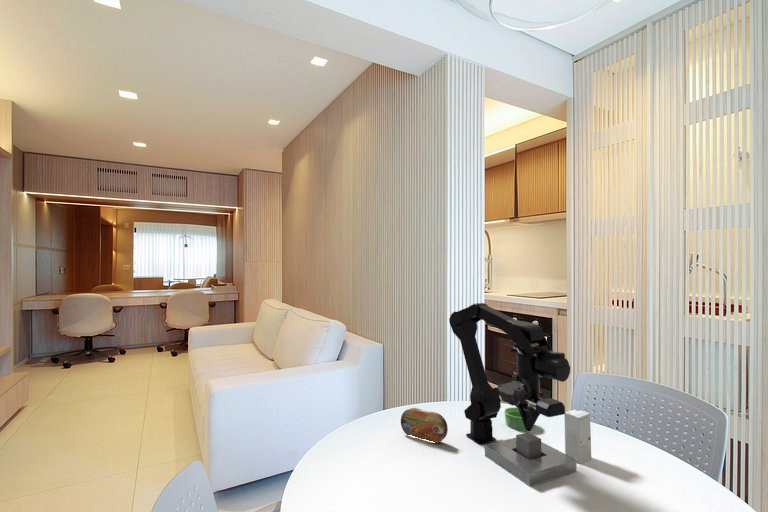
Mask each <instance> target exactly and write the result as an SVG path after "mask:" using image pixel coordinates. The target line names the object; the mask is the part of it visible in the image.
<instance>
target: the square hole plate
mask: <svg viewBox="0 0 768 512" xmlns="http://www.w3.org/2000/svg"><path fill="white" fill-rule="evenodd" d="M484 457H486V458H487V459H489V460H490V461H492V462H493V463H494V464H496V465H498V466H500V468H502V469H504V470H505V471H506V472H507V473H508V474H511V475H512V476H514V477H515V478H516V479H518V480H520V481H521V482H522V483H524V484H525V485H526V486H528V487H533V486H536V485H540V484H542V483H546V482H548V481H553V480H555V479H559V478H562V477H565V476H567V475H568V476H569V475H572V474H575V473H577V472H578V471H577V462H576V460H575V459H573V458H572V457H570V456H568V455H566V454H565V452H564V453H563V452H562V451H560V450H558V449H557V448H554V447H553V446H551V445H548V444H547V443H545V442H543V441H541V457H539V458H535V459H531V460H528V459H526V458H525V457H523V456H521V455H520V454H518V453H517V452H516V437H513V438H508V439H504V440H499V441H494V442H489V443H485V444H484Z"/></svg>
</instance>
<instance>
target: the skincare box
mask: <svg viewBox="0 0 768 512" xmlns="http://www.w3.org/2000/svg"><path fill="white" fill-rule="evenodd" d="M563 415H564V454H566V455H568V456H570V457H572V458H573V459H575V460H576V464H581V463H585V462H587V461H589V460H591V459H592V437H591V436H592V434H591V413H590V412H587V411H584V410H579V409H577V408H576V409H572V410H568V411H565V414H563Z"/></svg>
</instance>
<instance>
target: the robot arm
mask: <svg viewBox="0 0 768 512" xmlns="http://www.w3.org/2000/svg"><path fill="white" fill-rule="evenodd" d="M448 321H449V322H448V323H449V325H450V327H451V330H452V332H453V334H454V336H455V337H457V338H458V339H459V341H460V344H461V345H460V346H461V350H462V353H463V355H464V360H465V363H466V364H465V365H466V367H467V368H466V369H467V371H468V375H469V379H470V383H471V386H472V387H471V389H470V395H469V398H470V399H469V400H470V404H469V405H468V406H467V407H466V409H464V410H463V411H464V417H465V418H466V419H467V420H469V421H470V425H469V426H470V432H469V433H468V432H467V433H466V434H465V435H466V436H465V437H467V438H469V439H470V440H472V441H473V442H475V443H477V444H478V445H483V444H489V443H493V442H497V437H496V438H495V437H494V436H493V420H492V419H494V418H497V416H498V413H499V412H500V410H501V408H502V406H501V402H503V403H506V404H509V406H515V408H518V410H519V412H520V415H521V417H522V420H523V423H524V426H525V429H526V430H525V431H526V432H529V433H530V432H531V431H532V429H533V428H534V425H535V423H536V422H537V420H538V418H539V416H540V415H542V416H544V417H547V418H553V417H557V416H562V415H564V414H565V413H566V406H565V404H564V403H563V401H559V400H557V399H555V398H552V397H548V398H543V399H542V398H541V397H544V392H543V391H541V382H542V381H544V378H548V379H551V380H555V381H559V382H563V383H564V382H566V381H567V380H568V379H569V376H570V374H571V365H570V363H569V361H568V359H567V358H566V355H565V353H564V352H560V351H559V352H557V351H553V348H552V346H551V345H550V343H549V341H548V340H547V338H546V336H545V334H544V332H543V328H542V327H541V326H540V325H539V324H537V323H532V322H528V321H525V320H518V319H514V318H513V317H511V316H509V315H507V314H505V313H503V312H501V311H499V310H497V309H495V308H493V307H491V306H489V305H488V304H486V303H484V302H477V303H473V304H471V305H469V306H467V307H466V308H463V309H460V310H458V311H453V312H452V313H451V314H450V317H449V319H448ZM480 321H483V322H486V323H488V324H489V325H491V326H493V327H495V328H497V329H498V330H500V331H502V332H503V333H504V334H506V335H507V337H508V339H509V340H510V341H511V342H512V343H513V344H515V345H514V346H513V347H512V348H510V350H509V352H511V353H513V354H516V373H514V374H513V376H512V380H511V381H510V382H507V383H499V384H498V386H497V387H493V386H492V385H491V384H490V383H489V380H488V377H487V374H486V371H485V368H484V364H483V360H482V355H481V352H480V349H479V346H478V342H477V337H476V336H477V331H478V322H480Z"/></svg>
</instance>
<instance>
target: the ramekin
mask: <svg viewBox="0 0 768 512" xmlns="http://www.w3.org/2000/svg"><path fill="white" fill-rule="evenodd" d="M503 411H504V413H503V414H504V418H505V425H506V426H508V427H509V428H511V429H513V430H516V431H526V429H525V426H524V423H523V420H522V417H521V415H520V412H519V410H518V408H517V407H516V406H515V407H514V406H513V407H506V408H505V409H504V410H503Z"/></svg>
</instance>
